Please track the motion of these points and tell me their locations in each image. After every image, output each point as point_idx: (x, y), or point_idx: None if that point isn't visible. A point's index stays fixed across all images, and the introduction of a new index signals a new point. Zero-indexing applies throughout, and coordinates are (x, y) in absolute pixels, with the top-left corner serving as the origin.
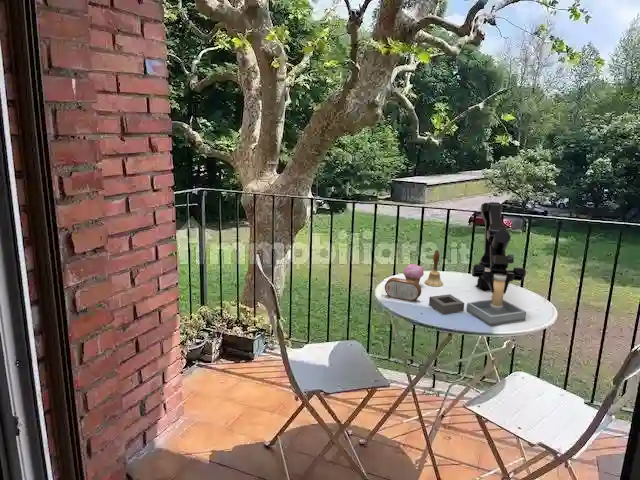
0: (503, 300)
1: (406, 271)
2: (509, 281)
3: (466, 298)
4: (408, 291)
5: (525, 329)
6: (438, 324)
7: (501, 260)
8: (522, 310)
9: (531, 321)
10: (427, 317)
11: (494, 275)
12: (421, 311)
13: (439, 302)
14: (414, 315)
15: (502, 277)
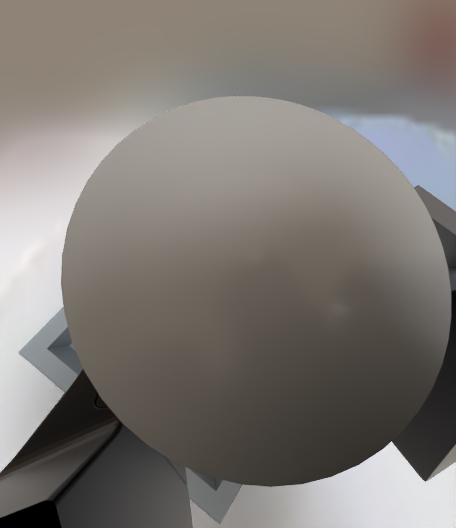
0: (193, 484)
1: None
2: (56, 407)
3: (403, 478)
4: None
5: (52, 236)
6: (354, 122)
7: None
8: (46, 361)
9: (19, 356)
10: (407, 155)
11: (390, 167)
12: (449, 192)
13: (449, 213)
14: (444, 150)
15: (172, 114)
